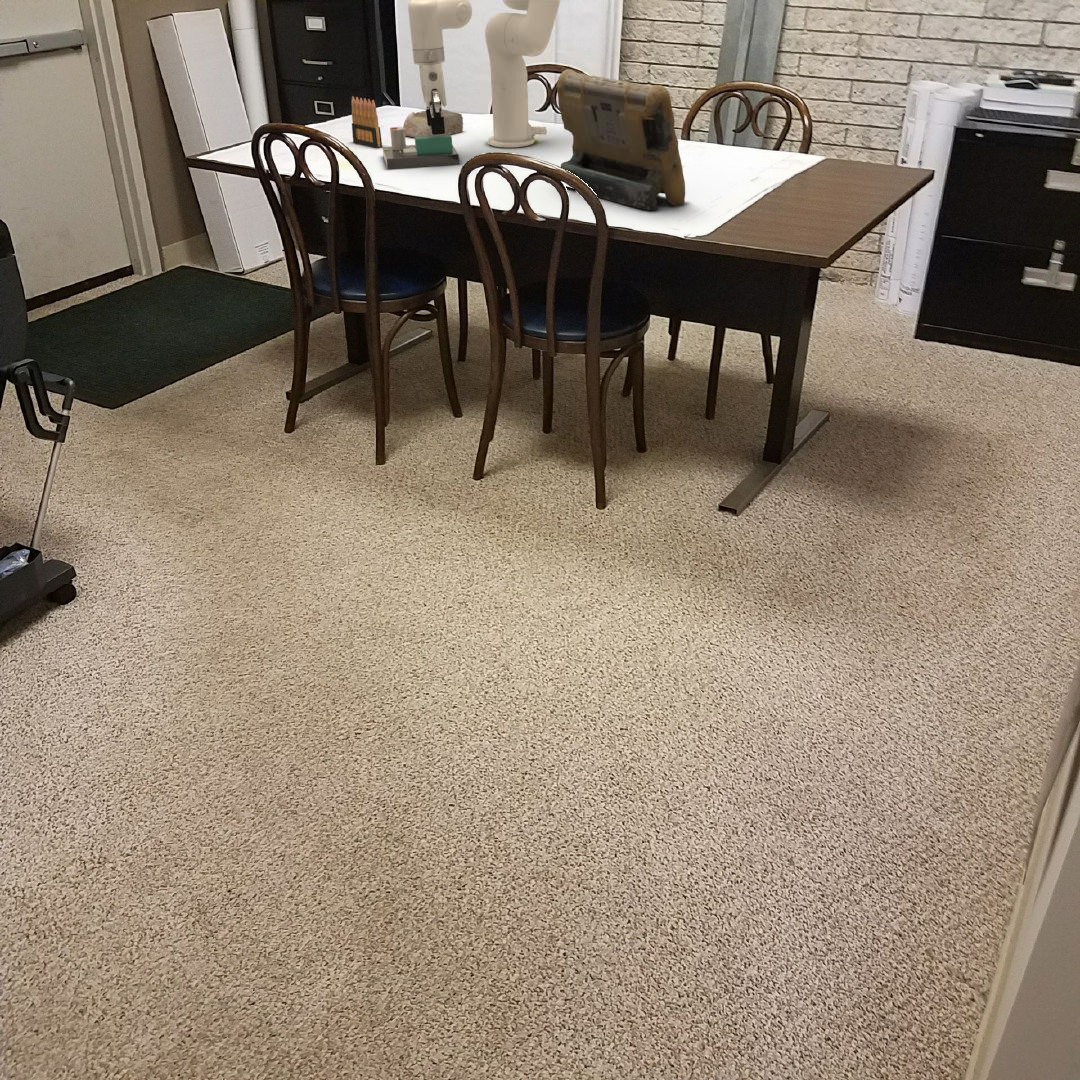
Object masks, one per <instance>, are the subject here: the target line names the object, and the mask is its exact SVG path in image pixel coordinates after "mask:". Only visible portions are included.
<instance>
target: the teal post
mask: <svg viewBox="0 0 1080 1080" xmlns="http://www.w3.org/2000/svg"><path fill="white" fill-rule="evenodd" d="M452 144H453V137H452V134H450V135H436V136H421V137H414V145H415V147H416V148H409V149H403V154H404V156H417V155H426V154H440V153H453V149H452Z"/></svg>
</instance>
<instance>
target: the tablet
mask: <svg viewBox="0 0 1080 1080" xmlns="http://www.w3.org/2000/svg"><path fill="white" fill-rule="evenodd" d="M556 93H557V101H558V109H559V112H560V117H561V120H562V123H563V130H564V131H565V130H566V131H568V132H569V133H570V134H571V135H572V147H571V148H572V150H571V151H572V156H571V158H570V159H569V160H566V161H563V162H561V164H560V168H563V169H565V170H568V171H570V172H571V173H573V174H575V175H576V176H578V177H579V178H580V179H582V180H583V181H584V182H585V183H587V184H588V186H589V187H591V188H592V189H593V191H594V192H595V193H596V194H597V196H598V197H597V198H599V199H604V200H607V201H609V202H610V201H611V202H613V203H618V204H623V205H627V206H630V207H633V208H637V209H642V210H649V211H652V212H653V211H655V210H658V208H659V205H658V202H657V199H658V196H659V194H664V197H665V199H666V201H667V202H668V203H670V204H671V205H672V206H673V207H674V206H675V207H679V206H681V205H683V204H685V202H686V201H685V198H686V181H685V177H684V170H683V164H682V159H681V155H680V149H679V140H678V137H677V135H676V129H675V123H676V121H675V115H674V111H673V106H672V100H671V95H670V92H669V91H668V89H667V88H666V87H665V86H663V85H661V84H655V85H653V86H652V85H647V84H640V83H637V82H636V83H634V82H630V81H627V80H621V79H615V78H608V77H601V76H600V77H599V76H596V75H590V74H589V75H588V74H585V73H580V72H577V71H575V70H574V69H568V68H567V69H565V70H563V71H562V72H561V73H560V74H559V76H558V78H557V83H556ZM566 188H567V189H570V190H572V189H571V188H569V187H566Z"/></svg>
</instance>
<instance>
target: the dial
mask: <svg viewBox="0 0 1080 1080" xmlns="http://www.w3.org/2000/svg"><path fill="white" fill-rule="evenodd" d="M389 130H390V141H391V146H392V150H396V151H400V150H403V149H406V145H407V142H406V141H407V140H406V136H405V129H404V128H403V126H393V127H390V128H389Z"/></svg>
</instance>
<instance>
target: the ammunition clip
mask: <svg viewBox="0 0 1080 1080" xmlns="http://www.w3.org/2000/svg"><path fill="white" fill-rule="evenodd" d="M351 118H352V123H351V130H352V132H351V133H352V142H353V144H356V145H360V146H366V147H370V148H374V149H379V148H382V147H383V141H382V133H381V126H380V125H379V117H378V112H377V107H376V103H375V100H374V99H372V100H370V98H368V99H367V98H365V97H364V98H362V97H360V98H359V97H358V96H356V97H354V95H352V96H351Z"/></svg>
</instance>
